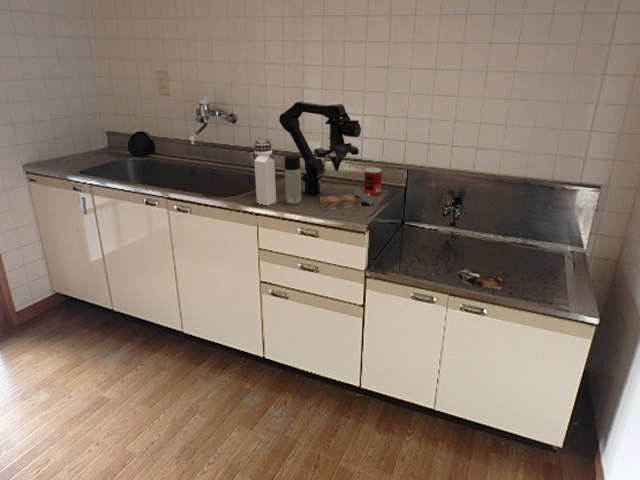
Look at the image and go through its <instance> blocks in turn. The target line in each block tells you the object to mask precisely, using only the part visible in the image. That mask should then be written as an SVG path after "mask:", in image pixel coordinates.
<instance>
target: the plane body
mask: <svg viewBox="0 0 640 480" xmlns="http://www.w3.org/2000/svg"><path fill="white" fill-rule="evenodd" d="M318 203H319V204H318V205H319V206H320V208H322V210H324V211H329V210H340V209H341V210H342V209H349V208H359V207H363V205H362V199H361V198H360V197H359V196H357V195H356V194H355V193H346V194H340V195H339V194H338V195H337V194H336V195H328V196H319V202H318Z"/></svg>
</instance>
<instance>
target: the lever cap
mask: <svg viewBox="0 0 640 480" xmlns="http://www.w3.org/2000/svg"><path fill="white" fill-rule="evenodd" d="M353 193H354V194H356V195H357V196H359V197H360V198H361V200H363V201H364V202H365V203H367V204H369V206H372V204H373V203H374V202H375V200H374V198H373V197H372V195H370V194H366V193H365V192H364V190H362V188H359V187H358V186H357V187H356V189H354V191H353Z"/></svg>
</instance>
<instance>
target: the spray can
mask: <svg viewBox="0 0 640 480" xmlns="http://www.w3.org/2000/svg"><path fill="white" fill-rule="evenodd" d="M301 179H302V176H301V155H297V154H289V155H285V157H284V180H285V181H284V183H285V186H284V187H285V201H286V203H287V204H291V205H292V204H293V205H297V204H300V203H301V202H302V189H301V188H302V186H301V185H302V183H301V181H302V180H301Z"/></svg>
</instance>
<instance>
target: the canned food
mask: <svg viewBox="0 0 640 480" xmlns="http://www.w3.org/2000/svg"><path fill="white" fill-rule="evenodd" d="M382 170H383V169H381V168H380V167H367V168H365V169H364V186H363V187H364V190H363V192H365V193H366V194H370V195H371V196H378V195H381V191H382V176H383V174H382V172H383V171H382Z"/></svg>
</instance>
